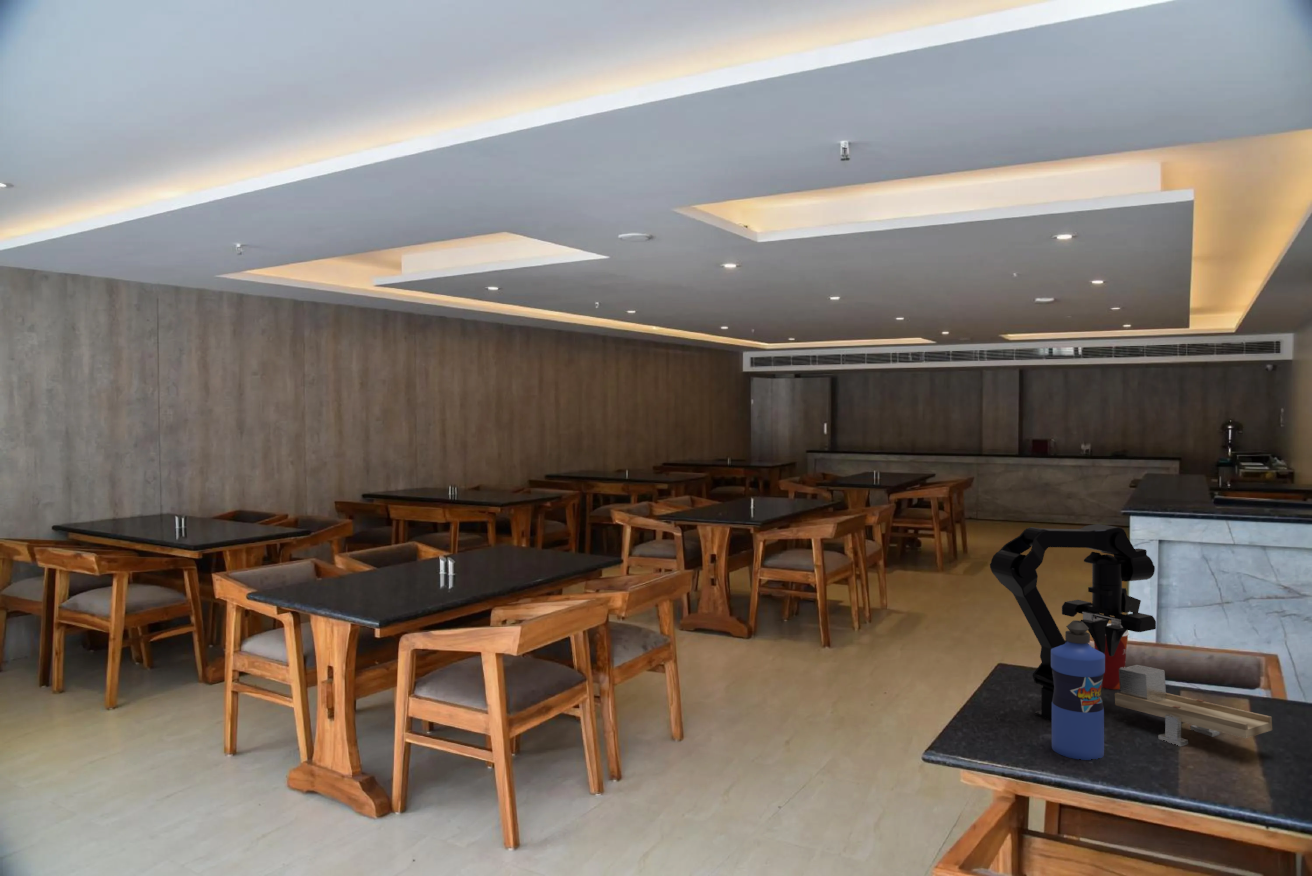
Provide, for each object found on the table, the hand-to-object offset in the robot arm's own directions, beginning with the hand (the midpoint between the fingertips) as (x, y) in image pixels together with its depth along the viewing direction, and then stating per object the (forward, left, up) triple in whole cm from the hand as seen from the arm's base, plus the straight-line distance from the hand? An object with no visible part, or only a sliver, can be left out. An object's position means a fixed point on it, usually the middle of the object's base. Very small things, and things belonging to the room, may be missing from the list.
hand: (1106, 654), depth 188 cm
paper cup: (+15, +10, -12) cm, 22 cm away
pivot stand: (0, -18, -12) cm, 22 cm away
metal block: (0, -8, -7) cm, 11 cm away
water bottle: (-25, -12, -12) cm, 30 cm away
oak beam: (0, -18, -8) cm, 20 cm away
